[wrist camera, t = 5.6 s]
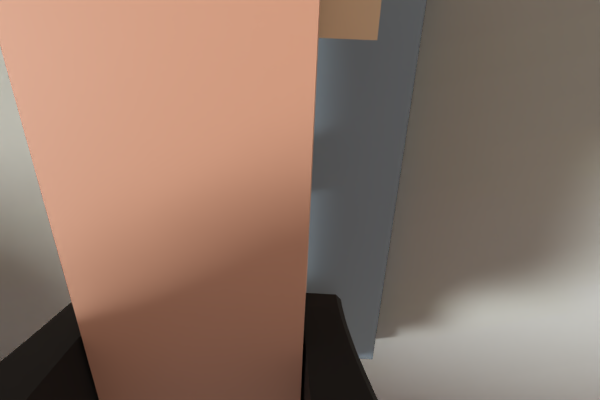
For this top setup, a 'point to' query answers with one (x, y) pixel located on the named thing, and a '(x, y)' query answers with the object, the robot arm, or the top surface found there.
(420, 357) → the top surface
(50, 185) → the terracotta bar
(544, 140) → the top surface
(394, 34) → the stand
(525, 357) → the top surface
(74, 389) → the robot arm
